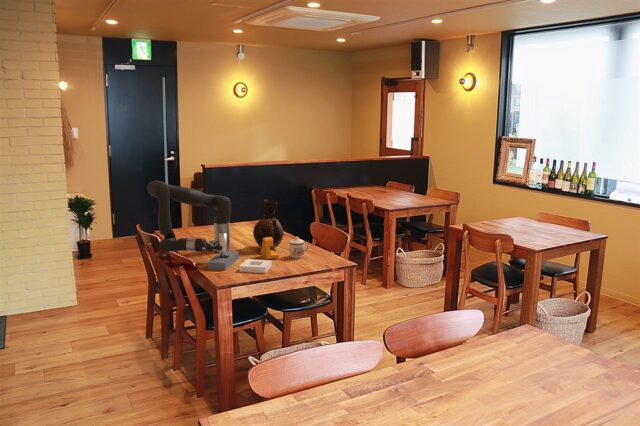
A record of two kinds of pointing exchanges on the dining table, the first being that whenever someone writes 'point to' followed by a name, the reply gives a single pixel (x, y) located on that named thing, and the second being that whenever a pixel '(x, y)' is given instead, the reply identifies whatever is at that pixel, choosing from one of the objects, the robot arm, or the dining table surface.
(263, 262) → the cradle
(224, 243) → the axle
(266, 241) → the bracket
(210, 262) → the gray rectangular block
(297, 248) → the teacup with lid
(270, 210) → the ceramic vessel
